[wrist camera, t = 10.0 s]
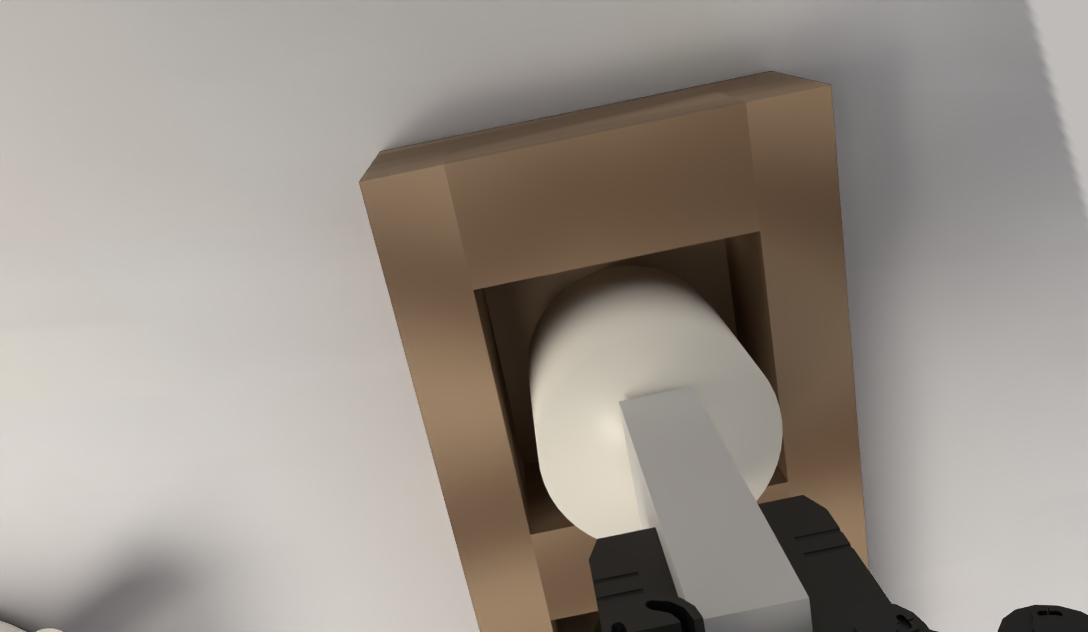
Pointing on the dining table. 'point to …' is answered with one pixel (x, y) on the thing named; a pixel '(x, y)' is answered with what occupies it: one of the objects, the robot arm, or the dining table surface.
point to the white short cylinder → (637, 388)
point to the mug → (7, 631)
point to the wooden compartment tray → (601, 243)
